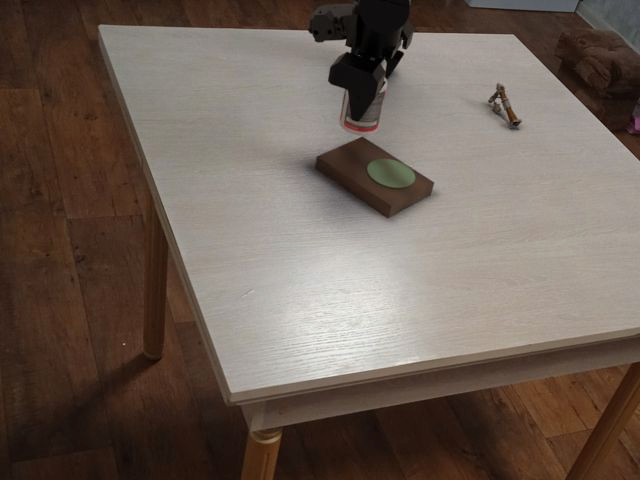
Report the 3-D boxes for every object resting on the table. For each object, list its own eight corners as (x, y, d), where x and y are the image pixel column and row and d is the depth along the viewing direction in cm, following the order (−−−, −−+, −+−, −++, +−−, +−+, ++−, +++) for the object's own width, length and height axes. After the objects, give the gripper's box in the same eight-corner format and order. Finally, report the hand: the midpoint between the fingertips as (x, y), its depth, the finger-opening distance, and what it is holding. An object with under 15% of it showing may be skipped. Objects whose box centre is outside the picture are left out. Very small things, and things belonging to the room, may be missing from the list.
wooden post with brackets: (491, 96, 143) (504, 79, 140) (509, 135, 142) (523, 120, 138) (482, 97, 143) (496, 80, 139) (500, 136, 141) (514, 120, 137)
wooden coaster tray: (360, 147, 125) (362, 134, 123) (431, 193, 120) (435, 181, 118) (314, 168, 118) (316, 155, 117) (388, 217, 114) (391, 204, 112)
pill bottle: (384, 134, 114) (399, 68, 107) (352, 139, 111) (365, 71, 104) (364, 114, 116) (377, 48, 110) (331, 119, 114) (343, 51, 107)
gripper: (346, -46, 108) (327, 65, 119) (296, 3, 95) (281, 123, 106) (426, -19, 108) (400, 89, 119) (388, 33, 94) (362, 150, 105)
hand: (361, 111), depth 112 cm, fingers closed on pill bottle, 5 cm apart
